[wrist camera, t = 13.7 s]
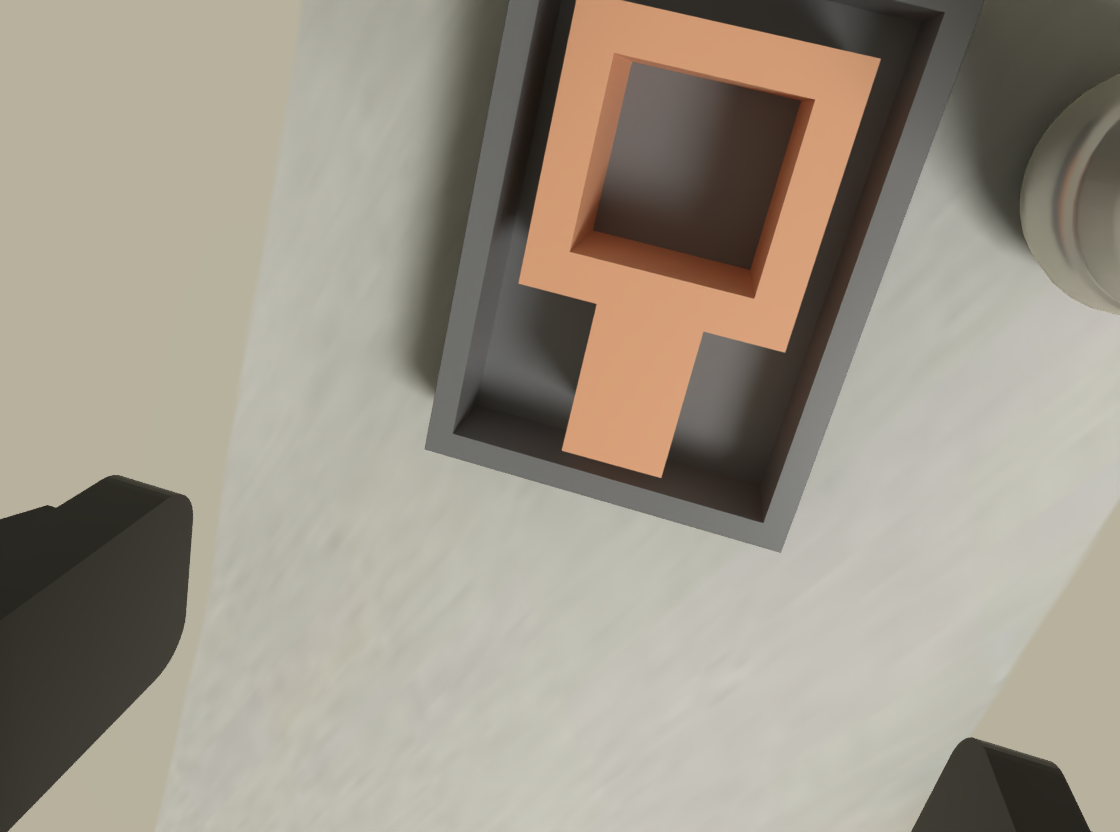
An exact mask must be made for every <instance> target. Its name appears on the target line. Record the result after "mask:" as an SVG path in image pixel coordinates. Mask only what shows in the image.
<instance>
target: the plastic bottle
mask: <svg viewBox="0 0 1120 832" xmlns="http://www.w3.org/2000/svg"><path fill="white" fill-rule="evenodd" d="M1020 219H1021V224H1022V230H1023V235H1024V237H1025V240H1026V242H1027V244H1028V247H1029V249H1030V251H1031V253H1032V255H1033V256H1034V258H1035V259H1036V261H1037V262H1038V263H1039V265H1040V266H1041V268H1042V269H1043V270H1044V272H1045V273H1046V274H1047V276H1048V277H1049V278H1050V280H1051V281H1052V282H1053V283H1054V284H1055V285H1056V286H1057V287H1058V288H1060V289H1061V290H1062V291H1063V292H1064V293H1066V294H1067V295H1068V296H1069V297H1071V298H1073V299H1074V300H1076V301H1078V302H1080V303H1082V304H1084V305H1086V306H1088V307H1090V308H1093V309H1097V310H1101V311H1105V312H1108V313H1112V314H1117V315H1120V73H1118V74H1116V75H1115V76H1113V77H1111V78H1109V79H1107V80H1106V81H1104V82H1102V83H1100V84H1098V85H1097V86H1095V87H1093V88H1091V89H1089V90H1088V91H1086V92H1085V93H1084V94H1082V95H1081V96H1080V97H1079V98H1077V99H1076V100H1075V101H1074V102H1072V103H1071V104H1070V105H1069V106H1067V107H1066V108H1065V109H1064V110H1063V111H1062V113H1061V114H1060V115H1059V116H1058V117H1057V118H1056V119H1055V120H1054V121H1053V122H1052V123H1051V125H1050V126H1049V127H1048V128H1047V130H1046V131H1045V133H1044V135H1043V136H1042V138H1041V139H1040V141H1039V142H1038V144H1037V145H1036V147H1035V149H1034V151H1033V153H1032V156H1031V158H1030V160H1029V163H1028V165H1027V167H1026V170H1025V174H1024V178H1023V183H1022V187H1021V191H1020Z"/></svg>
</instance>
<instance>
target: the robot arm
mask: <svg viewBox="0 0 1120 832" xmlns="http://www.w3.org/2000/svg"><path fill="white" fill-rule="evenodd" d="M192 524H193V510H192V505H191V502H190V500H189V499H188V498H187V497H186V496H185V495H182V494H178V493H175V492H172V491H169V490H165V489H162V488H159V487H156V486H152V485H149V484H145V483H142V482H139V481H135V480H133V479H129V478H126V477H123V476H119V475H112V476H108V477H106V478H104V479H102V480H100V481H99V482H97V483H96V484H94V485H92V486H91V487H89V488H88V489H86V490H84V491H83V492H81V493H80V494H78V495H76V496H75V497H73V498H72V499H70V500H68V501H67V502H65V503H64V504H62V505H60V506H59V507H57V508H54V507H52V506H48V505H47V506H43V507H40V508H37V509H33V510H30V511H27V512H23V513H20V514H16V515H13V516H10V517H7V518H3V519H0V832H8V831H9V829H10V828H11V827H12V826H13V825H14V824H15V823H16V822H17V821H18V820H19V819H20V818H21V817H22V816H23V815H24V814H25V813H26V812H27V811H28V810H29V809H30V808H31V807H32V806H33V805H34V804H35V803H36V802H37V801H38V800H39V799H40V798H41V797H42V796H43V794H45V793H46V792H47V791H48V789H49V788H50V787H51V786H52V785H53V784H54V783H55V782H56V781H57V780H58V779H59V778H60V777H61V776H62V775H63V774H64V773H65V772H66V771H67V770H68V769H69V768H70V767H71V766H72V765H73V764H74V763H75V761H77V760H78V759H79V758H80V757H81V756H82V755H83V753H85V752H86V750H87V749H88V748H89V747H90V746H91V745H92V744H93V743H94V742H95V741H96V740H97V739H98V738H99V737H100V736H101V735H102V734H103V733H104V732H105V731H106V730H107V729H108V728H109V727H110V726H111V725H112V724H113V723H114V722H115V721H116V720H117V719H118V718H119V717H120V716H121V715H122V714H123V713H124V711H125V710H126V709H127V708H128V707H129V706H130V705H131V704H132V703H133V702H134V701H135V700H136V699H137V698H138V697H139V696H140V695H141V694H142V693H143V692H144V691H145V690H146V689H147V688H148V687H149V686H150V685H151V684H152V683H153V682H154V681H155V679H157V677H158V676H159V675H160V674H161V673H162V671H163V670H164V669H165V667H166V666H167V664H168V663H169V661H170V659H171V658H172V656H173V654H174V652H175V650H176V648H177V645H178V643H179V640H180V638H181V635H182V632H183V628H184V623H185V617H186V605H187V592H188V578H189V564H190V551H191V538H192ZM911 832H1091V831H1090V829H1089V827H1088V825H1087V823H1086V821H1085V819H1084V817H1083V815H1082V812H1081V810H1080V808H1079V806H1078V804H1077V802H1076V800H1075V798H1074V796H1073V794H1072V792H1071V790H1070V787H1069V785H1068V783H1067V782H1066V779H1065V777H1064V775H1063V774H1062V772H1061V770H1060V769H1059V768H1058V767H1057V765H1056V764H1054V763H1053V762H1051V761H1048V760H1044V759H1040V758H1038V757H1034V756H1031V755H1028V754H1024V753H1021V752H1018V751H1015V750H1012V749H1008V748H1005V747H1002V746H998V745H995V744H992V743H989V742H985V741H982V740H978V739H975V738H972V737H971V738H966V739H964V740H963V741H961V742H960V743H959V744H958V745H957V747H956V748H955V749H954V751H953V753H952V754H951V756H950V758H949V760H948V762H947V764H946V766H945V768H944V769H943V771H942V773H941V775H940V777H939V779H938V781H937V783H936V785H935V787H934V789H933V791H932V793H931V795H930V797H929V798H928V800H927V802H926V804H925V806H924V808H923V810H922V812H921V814H920V816H919V818H918V820H917V822H916V824H915V825H914V827H913V829H912V831H911Z"/></svg>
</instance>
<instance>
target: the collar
mask: <svg viewBox="0 0 1120 832" xmlns="http://www.w3.org/2000/svg"><path fill="white" fill-rule="evenodd" d="M880 60H881V59H880V58H875V57H871V56H866V55H862V54H857V53H853V52H849V51H844V50H840V49H835V48H831V47H826V46H822V45H818V44H813V43H809V42H804V41H800V40H795V39H791V38H787V37H782V36H778V35H773V34H769V33H764V32H760V31H756V30H751V29H747V28H742V27H738V26H733V25H729V24H725V23H720V22H716V21H711V20H707V19H702V18H698V17H694V16H689V15H685V14H680V13H676V12H671V11H667V10H663V9H658V8H654V7H649V6H645V5H640V4H636V3H632V2H627V1H623V0H576V4H575V9H574V14H573V19H572V23H571V28H570V33H569V38H568V43H567V48H566V53H565V58H564V63H563V68H562V73H561V77H560V82H559V87H558V92H557V97H556V102H555V107H554V112H553V117H552V122H551V126H550V131H549V136H548V141H547V146H546V151H545V156H544V161H543V166H542V171H541V175H540V180H539V185H538V190H537V195H536V200H535V205H534V210H533V215H532V220H531V224H530V229H529V234H528V239H527V244H526V249H525V254H524V259H523V264H522V269H521V273H520V278H519V283H518V284H522V285H526V286H530V287H534V288H537V289H541V290H545V291H549V292H553V293H557V294H561V295H564V296H568V297H572V298H576V299H580V300H584V301H588V302H591V303H595V304H597V305H596V309H595V314H594V318H593V322H592V326H591V330H590V335H589V339H588V343H587V347H586V351H585V355H584V360H583V364H582V368H581V372H580V376H579V381H578V385H577V389H576V393H575V397H574V401H573V406H572V410H571V414H570V418H569V422H568V427H567V431H566V435H565V439H564V443H563V447H562V451H565V452H569V453H572V454H576V455H579V456H583V457H587V458H590V459H594V460H598V461H601V462H605V463H608V464H612V465H616V466H619V467H623V468H627V469H630V470H634V471H637V472H641V473H645V474H648V475H652V476H656V477H659V478H661V477H662V474H663V470H664V467H665V463H666V460H667V456H668V453H669V450H670V446H671V443H672V439H673V436H674V432H675V429H676V425H677V422H678V418H679V415H680V411H681V408H682V404H683V401H684V397H685V394H686V390H687V387H688V384H689V380H690V377H691V373H692V370H693V366H694V363H695V359H696V356H697V352H698V349H699V345H700V342H701V338H702V335H703V332H707V333H711V334H715V335H719V336H723V337H726V338H730V339H734V340H738V341H742V342H746V343H750V344H753V345H757V346H761V347H765V348H769V349H773V350H777V351H781V352H784V353H785V351H786V348H787V345H788V342H789V339H790V336H791V333H792V330H793V327H794V324H795V321H796V318H797V315H798V312H799V309H800V305H801V302H802V299H803V296H804V293H805V290H806V287H807V284H808V281H809V278H810V275H811V272H812V269H813V266H814V263H815V259H816V256H817V253H818V250H819V247H820V244H821V241H822V238H823V235H824V232H825V229H826V226H827V223H828V220H829V217H830V213H831V210H832V207H833V204H834V201H835V198H836V195H837V192H838V189H839V186H840V183H841V180H842V177H843V174H844V171H845V167H846V164H847V161H848V158H849V155H850V152H851V149H852V146H853V143H854V140H855V137H856V134H857V131H858V128H859V125H860V121H861V118H862V115H863V112H864V109H865V106H866V103H867V100H868V97H869V94H870V91H871V88H872V85H873V82H874V79H875V76H876V72H877V69H878V66H879V63H880ZM632 62H636V63H640V64H644V65H649V66H653V67H657V68H662V69H666V70H670V71H675V72H679V73H683V74H687V75H692V76H696V77H700V78H705V79H709V80H713V81H718V82H722V83H726V84H731V85H735V86H739V87H743V88H748V89H752V90H756V91H761V92H765V93H769V94H774V95H778V96H782V97H787V98H791V99H795V100H799V101H801V103H800V106H799V110H798V113H797V116H796V120H795V123H794V126H793V130H792V133H791V136H790V140H789V143H788V146H787V150H786V153H785V156H784V160H783V163H782V166H781V170H780V173H779V176H778V180H777V183H776V186H775V190H774V193H773V196H772V200H771V203H770V206H769V210H768V213H767V216H766V219H765V223H764V226H763V229H762V233H761V236H760V239H759V243H758V246H757V249H756V253H755V256H754V259H753V263H752V266H751V269H750V270H749V269H745V268H741V267H737V266H733V265H729V264H725V263H721V262H717V261H713V260H709V259H705V258H701V257H697V256H693V255H689V254H685V253H681V252H677V251H673V250H669V249H665V248H661V247H657V246H653V245H649V244H645V243H641V242H637V241H633V240H629V239H625V238H621V237H617V236H613V235H609V234H605V233H601V232H597V231H593V229H594V225H595V220H596V216H597V212H598V207H599V203H600V199H601V194H602V190H603V186H604V181H605V177H606V173H607V168H608V164H609V159H610V155H611V151H612V146H613V142H614V138H615V133H616V129H617V125H618V120H619V116H620V112H621V107H622V103H623V99H624V94H625V90H626V86H627V81H628V77H629V73H630V68H631V64H632Z"/></svg>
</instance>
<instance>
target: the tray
mask: <svg viewBox="0 0 1120 832" xmlns="http://www.w3.org/2000/svg"><path fill="white" fill-rule="evenodd" d="M623 1H627V2H632V3H636V4H640V5H645V6H649V7H654V8H658V9H663V10H667V11H671V12H676V13H680V14H685V15H689V16H694V17H698V18H702V19H707V20H711V21H716V22H720V23H725V24H729V25H733V26H738V27H742V28H747V29H751V30H756V31H760V32H764V33H769V34H773V35H778V36H782V37H787V38H791V39H795V40H800V41H804V42H809V43H813V44H818V45H822V46H826V47H831V48H835V49H840V50H844V51H849V52H853V53H857V54H862V55H866V56H871V57H875V58H880V59H881V60H880V63H879V66H878V69H877V72H876V76H875V79H874V82H873V85H872V88H871V91H870V94H869V97H868V100H867V103H866V106H865V109H864V112H863V115H862V118H861V121H860V125H859V128H858V131H857V134H856V137H855V140H854V143H853V146H852V149H851V152H850V155H849V158H848V161H847V164H846V167H845V171H844V174H843V177H842V180H841V183H840V186H839V189H838V192H837V195H836V198H835V201H834V204H833V207H832V210H831V213H830V217H829V220H828V223H827V226H826V229H825V232H824V235H823V238H822V241H821V244H820V247H819V250H818V253H817V256H816V259H815V263H814V266H813V269H812V272H811V275H810V278H809V281H808V284H807V287H806V290H805V293H804V296H803V299H802V302H801V305H800V309H799V312H798V315H797V318H796V321H795V324H794V327H793V330H792V333H791V336H790V339H789V342H788V345H787V348H786V351H785V353H784V352H781V351H777V350H773V349H769V348H765V347H761V346H757V345H753V344H750V343H746V342H742V341H738V340H734V339H730V338H726V337H723V336H719V335H715V334H711V333H707V332H703V335H702V338H701V342H700V345H699V349H698V352H697V356H696V359H695V363H694V366H693V370H692V373H691V377H690V380H689V384H688V387H687V390H686V394H685V397H684V401H683V404H682V408H681V411H680V415H679V418H678V422H677V425H676V429H675V432H674V436H673V439H672V443H671V446H670V450H669V453H668V456H667V460H666V463H665V467H664V470H663V474H662V477H661V478H659V477H656V476H652V475H648V474H645V473H641V472H637V471H634V470H630V469H627V468H623V467H619V466H616V465H612V464H608V463H605V462H601V461H598V460H594V459H590V458H587V457H583V456H579V455H576V454H572V453H569V452H565V451H562V447H563V443H564V439H565V435H566V431H567V427H568V422H569V418H570V414H571V410H572V406H573V401H574V397H575V393H576V389H577V385H578V381H579V376H580V372H581V368H582V364H583V360H584V355H585V351H586V347H587V343H588V339H589V335H590V330H591V326H592V322H593V318H594V314H595V309H596V305H597V304H595V303H591V302H588V301H584V300H580V299H576V298H572V297H568V296H564V295H561V294H557V293H553V292H549V291H545V290H541V289H537V288H534V287H530V286H526V285H522V284H518V283H519V278H520V273H521V269H522V264H523V259H524V254H525V249H526V244H527V239H528V234H529V229H530V224H531V220H532V215H533V210H534V205H535V200H536V195H537V190H538V185H539V180H540V175H541V171H542V166H543V161H544V156H545V151H546V146H547V141H548V136H549V131H550V126H551V122H552V117H553V112H554V107H555V102H556V97H557V92H558V87H559V82H560V77H561V73H562V68H563V63H564V58H565V53H566V48H567V43H568V38H569V33H570V28H571V23H572V19H573V14H574V9H575V4H576V0H509V4H508V10H507V15H506V20H505V26H504V31H503V36H502V42H501V47H500V52H499V57H498V63H497V68H496V73H495V79H494V84H493V89H492V95H491V100H490V105H489V110H488V116H487V121H486V126H485V132H484V137H483V142H482V148H481V153H480V158H479V163H478V169H477V174H476V179H475V185H474V190H473V195H472V201H471V206H470V211H469V216H468V222H467V227H466V232H465V238H464V243H463V248H462V254H461V259H460V264H459V269H458V275H457V280H456V285H455V291H454V296H453V301H452V307H451V312H450V317H449V323H448V328H447V333H446V338H445V344H444V349H443V354H442V360H441V365H440V370H439V376H438V381H437V386H436V391H435V397H434V402H433V407H432V413H431V418H430V423H429V429H428V434H427V439H426V444H425V450H429V451H432V452H436V453H439V454H443V455H446V456H449V457H453V458H456V459H460V460H463V461H467V462H470V463H474V464H477V465H480V466H484V467H487V468H491V469H494V470H498V471H501V472H505V473H508V474H511V475H515V476H518V477H522V478H525V479H529V480H532V481H535V482H539V483H542V484H546V485H549V486H553V487H556V488H560V489H563V490H566V491H570V492H573V493H577V494H580V495H584V496H587V497H591V498H594V499H597V500H601V501H604V502H608V503H611V504H615V505H618V506H622V507H625V508H628V509H632V510H635V511H639V512H642V513H646V514H649V515H653V516H656V517H659V518H663V519H666V520H670V521H673V522H677V523H680V524H683V525H687V526H690V527H694V528H697V529H701V530H704V531H708V532H711V533H714V534H718V535H721V536H725V537H728V538H732V539H735V540H739V541H742V542H745V543H749V544H752V545H756V546H759V547H763V548H766V549H770V550H773V551H776V552H780V553H781V551H782V548H783V545H784V543H785V540H786V537H787V534H788V532H789V529H790V526H791V524H792V521H793V518H794V516H795V513H796V510H797V507H798V505H799V502H800V499H801V497H802V494H803V491H804V488H805V486H806V483H807V480H808V478H809V475H810V472H811V469H812V467H813V464H814V461H815V459H816V456H817V453H818V450H819V448H820V445H821V442H822V440H823V437H824V434H825V431H826V429H827V426H828V423H829V421H830V418H831V415H832V412H833V410H834V407H835V404H836V402H837V399H838V396H839V393H840V391H841V388H842V385H843V383H844V380H845V377H846V374H847V372H848V369H849V366H850V364H851V361H852V358H853V355H854V353H855V350H856V347H857V345H858V342H859V339H860V337H861V334H862V331H863V328H864V326H865V323H866V320H867V318H868V315H869V312H870V309H871V307H872V304H873V301H874V299H875V296H876V293H877V290H878V288H879V285H880V282H881V280H882V277H883V274H884V271H885V269H886V266H887V263H888V261H889V258H890V255H891V252H892V250H893V247H894V244H895V242H896V239H897V236H898V233H899V231H900V228H901V225H902V223H903V220H904V217H905V214H906V212H907V209H908V206H909V204H910V201H911V198H912V195H913V193H914V190H915V187H916V185H917V182H918V179H919V177H920V174H921V171H922V168H923V166H924V163H925V160H926V158H927V155H928V152H929V149H930V147H931V144H932V141H933V139H934V136H935V133H936V130H937V128H938V125H939V122H940V120H941V117H942V114H943V111H944V109H945V106H946V103H947V101H948V98H949V95H950V92H951V90H952V87H953V84H954V82H955V79H956V76H957V73H958V71H959V68H960V65H961V63H962V60H963V57H964V54H965V52H966V49H967V46H968V44H969V41H970V38H971V35H972V33H973V30H974V27H975V25H976V22H977V19H978V16H979V14H980V11H981V8H982V6H983V3H984V0H623ZM800 103H801V101H799V100H795V99H791V98H787V97H782V96H778V95H774V94H769V93H765V92H761V91H756V90H752V89H748V88H743V87H739V86H735V85H731V84H726V83H722V82H718V81H713V80H709V79H705V78H700V77H696V76H692V75H687V74H683V73H679V72H675V71H670V70H666V69H662V68H657V67H653V66H649V65H644V64H640V63H636V62H632V64H631V68H630V73H629V77H628V81H627V86H626V90H625V94H624V99H623V103H622V107H621V112H620V116H619V120H618V125H617V129H616V133H615V138H614V142H613V146H612V151H611V155H610V159H609V164H608V168H607V173H606V177H605V181H604V186H603V190H602V194H601V199H600V203H599V207H598V212H597V216H596V220H595V225H594V229H593V231H597V232H601V233H605V234H609V235H613V236H617V237H621V238H625V239H629V240H633V241H637V242H641V243H645V244H649V245H653V246H657V247H661V248H665V249H669V250H673V251H677V252H681V253H685V254H689V255H693V256H697V257H701V258H705V259H709V260H713V261H717V262H721V263H725V264H729V265H733V266H737V267H741V268H745V269H749V270H750V269H751V266H752V263H753V259H754V256H755V253H756V249H757V246H758V243H759V239H760V236H761V233H762V229H763V226H764V223H765V219H766V216H767V213H768V210H769V206H770V203H771V200H772V196H773V193H774V190H775V186H776V183H777V180H778V176H779V173H780V170H781V166H782V163H783V160H784V156H785V153H786V150H787V146H788V143H789V140H790V136H791V133H792V130H793V126H794V123H795V120H796V116H797V113H798V110H799V106H800Z"/></svg>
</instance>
